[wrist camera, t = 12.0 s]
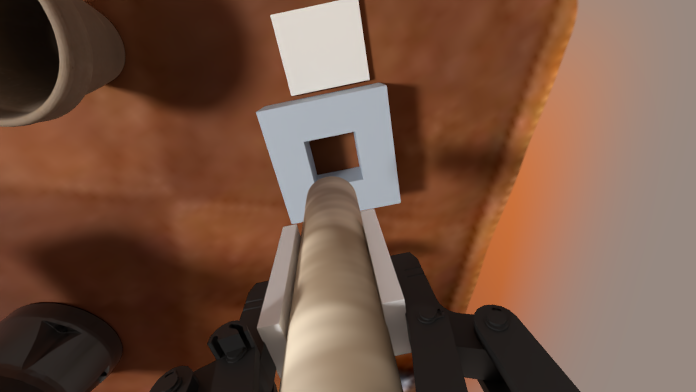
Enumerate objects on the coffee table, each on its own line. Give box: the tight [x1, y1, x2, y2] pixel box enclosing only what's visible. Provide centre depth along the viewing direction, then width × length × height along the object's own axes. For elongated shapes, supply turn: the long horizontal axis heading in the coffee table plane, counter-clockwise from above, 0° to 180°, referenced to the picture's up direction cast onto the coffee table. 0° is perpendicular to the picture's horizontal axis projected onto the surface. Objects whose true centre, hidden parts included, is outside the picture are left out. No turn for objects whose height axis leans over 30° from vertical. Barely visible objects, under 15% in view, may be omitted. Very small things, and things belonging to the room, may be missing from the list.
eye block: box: [256, 83, 401, 224], centre depth 30 cm, size 12×12×4 cm
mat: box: [270, 0, 370, 96], centre depth 27 cm, size 8×7×1 cm
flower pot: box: [0, 0, 125, 127], centre depth 21 cm, size 12×11×10 cm
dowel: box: [279, 176, 403, 392], centre depth 14 cm, size 4×4×14 cm
